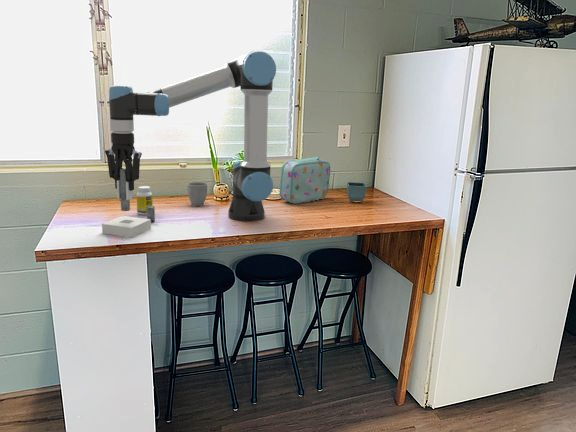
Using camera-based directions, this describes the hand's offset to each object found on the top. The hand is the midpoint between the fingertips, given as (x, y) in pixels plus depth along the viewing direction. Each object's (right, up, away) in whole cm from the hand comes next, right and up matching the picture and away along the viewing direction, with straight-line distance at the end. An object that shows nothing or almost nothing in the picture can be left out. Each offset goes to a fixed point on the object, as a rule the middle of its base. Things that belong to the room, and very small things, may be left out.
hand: (125, 198), depth 168 cm
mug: (+16, -1, +47) cm, 50 cm away
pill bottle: (-1, -5, +28) cm, 28 cm away
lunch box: (+66, +1, +62) cm, 91 cm away
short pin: (+5, -8, +16) cm, 19 cm away
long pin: (0, -4, +1) cm, 4 cm away
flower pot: (+91, 0, +64) cm, 111 cm away
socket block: (0, -12, +3) cm, 12 cm away
